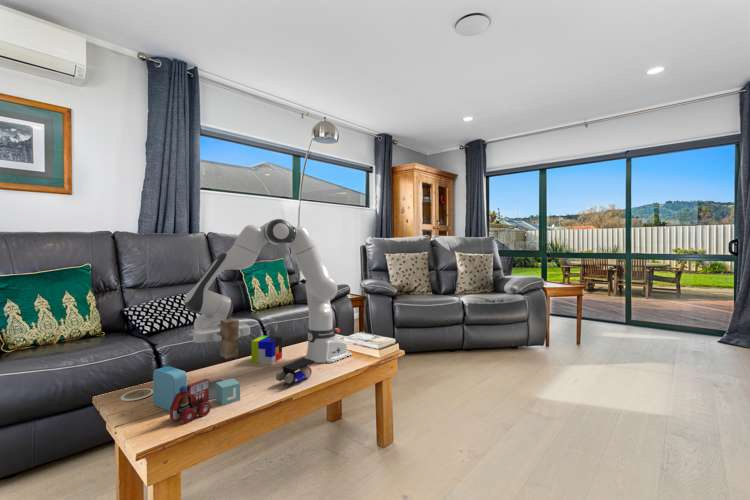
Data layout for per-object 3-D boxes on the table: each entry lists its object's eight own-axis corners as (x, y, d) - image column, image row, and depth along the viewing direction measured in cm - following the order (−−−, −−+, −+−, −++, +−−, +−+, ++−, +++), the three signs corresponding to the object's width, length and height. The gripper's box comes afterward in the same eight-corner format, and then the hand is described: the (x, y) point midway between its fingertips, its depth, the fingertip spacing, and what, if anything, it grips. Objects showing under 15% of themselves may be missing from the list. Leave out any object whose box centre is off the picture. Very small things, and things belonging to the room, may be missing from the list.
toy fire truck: (164, 422, 110) (164, 387, 110) (202, 406, 121) (202, 375, 121) (176, 428, 107) (176, 392, 107) (215, 412, 117) (215, 379, 117)
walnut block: (232, 352, 138) (232, 318, 138) (238, 356, 134) (238, 320, 134) (219, 355, 135) (220, 319, 135) (225, 358, 131) (226, 322, 131)
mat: (220, 380, 144) (220, 379, 144) (237, 392, 132) (237, 391, 132) (193, 386, 137) (193, 385, 137) (208, 400, 126) (208, 399, 126)
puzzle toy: (271, 364, 163) (272, 342, 163) (251, 363, 165) (251, 341, 165) (281, 357, 173) (282, 336, 173) (262, 356, 175) (262, 335, 175)
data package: (187, 407, 120) (187, 371, 120) (173, 413, 116) (173, 375, 116) (166, 399, 126) (166, 364, 126) (152, 404, 122) (152, 368, 122)
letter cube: (233, 395, 130) (233, 378, 130) (240, 400, 126) (240, 383, 126) (215, 399, 126) (215, 382, 126) (222, 405, 122) (222, 387, 122)
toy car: (289, 393, 135) (316, 376, 148) (287, 374, 134) (314, 358, 147) (276, 389, 139) (303, 373, 152) (274, 370, 138) (302, 355, 151)
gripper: (187, 325, 137) (200, 332, 127) (241, 319, 151) (256, 324, 141) (187, 342, 137) (200, 350, 127) (241, 334, 151) (256, 341, 141)
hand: (230, 337), depth 134 cm, fingers closed on walnut block, 4 cm apart
